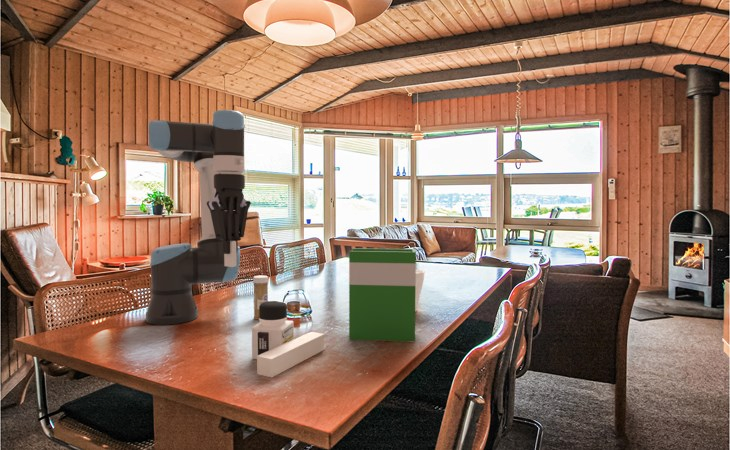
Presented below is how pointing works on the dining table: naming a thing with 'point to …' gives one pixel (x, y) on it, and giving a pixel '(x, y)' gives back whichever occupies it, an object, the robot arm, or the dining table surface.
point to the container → (271, 328)
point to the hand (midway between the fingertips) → (230, 266)
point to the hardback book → (382, 294)
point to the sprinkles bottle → (260, 293)
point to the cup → (418, 286)
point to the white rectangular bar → (289, 354)
